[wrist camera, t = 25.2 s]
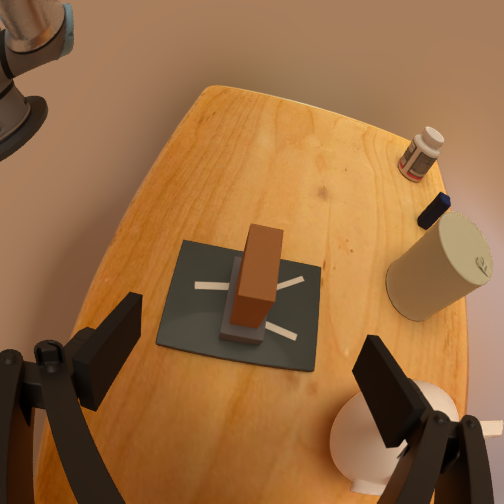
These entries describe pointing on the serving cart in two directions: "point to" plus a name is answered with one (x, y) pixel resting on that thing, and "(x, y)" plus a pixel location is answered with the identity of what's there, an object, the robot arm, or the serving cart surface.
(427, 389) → the piggy bank
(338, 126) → the serving cart surface
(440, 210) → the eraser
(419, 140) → the pill bottle
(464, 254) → the can
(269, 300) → the chalk eraser
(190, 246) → the slate board
